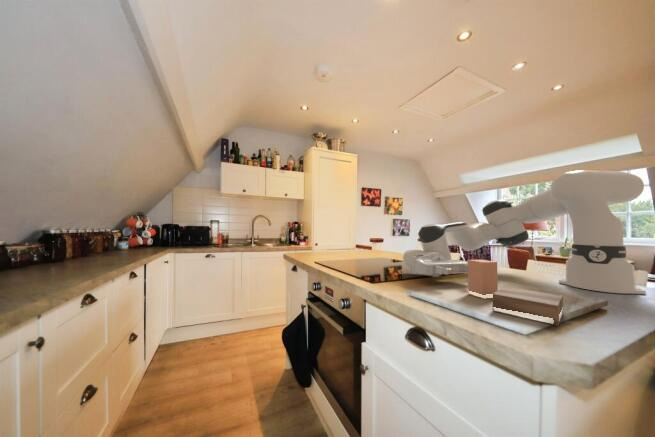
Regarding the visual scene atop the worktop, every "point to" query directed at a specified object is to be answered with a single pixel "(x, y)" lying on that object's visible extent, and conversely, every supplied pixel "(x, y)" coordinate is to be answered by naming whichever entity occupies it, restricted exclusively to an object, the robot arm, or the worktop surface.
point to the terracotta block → (482, 276)
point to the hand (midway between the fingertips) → (462, 271)
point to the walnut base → (529, 302)
